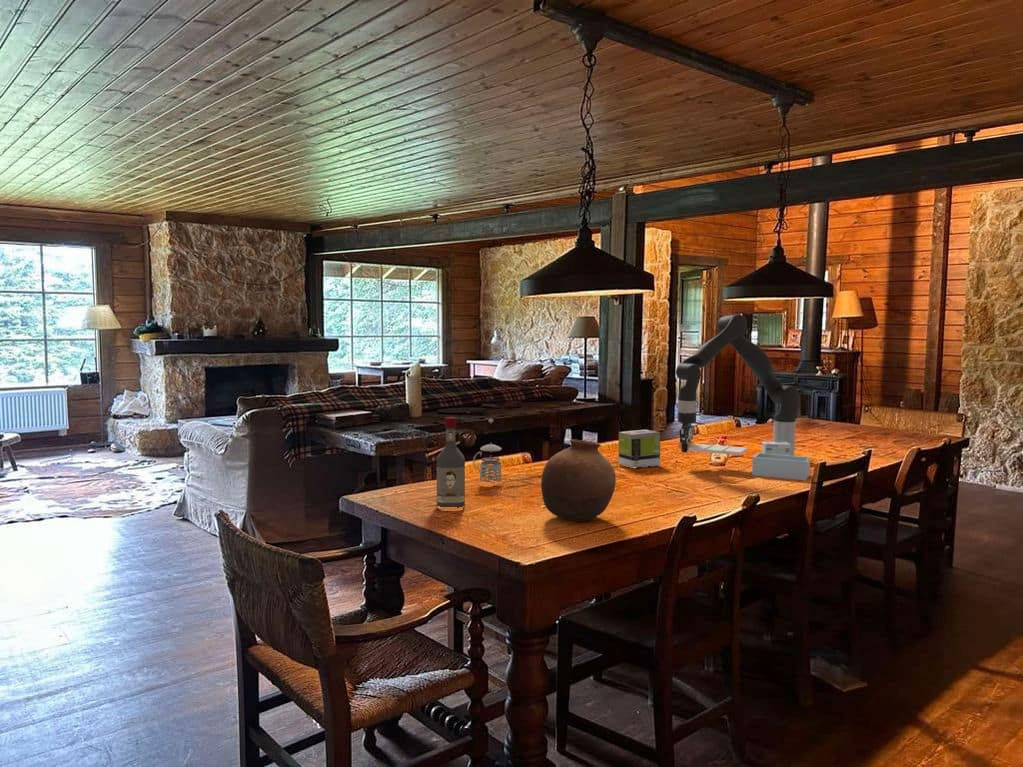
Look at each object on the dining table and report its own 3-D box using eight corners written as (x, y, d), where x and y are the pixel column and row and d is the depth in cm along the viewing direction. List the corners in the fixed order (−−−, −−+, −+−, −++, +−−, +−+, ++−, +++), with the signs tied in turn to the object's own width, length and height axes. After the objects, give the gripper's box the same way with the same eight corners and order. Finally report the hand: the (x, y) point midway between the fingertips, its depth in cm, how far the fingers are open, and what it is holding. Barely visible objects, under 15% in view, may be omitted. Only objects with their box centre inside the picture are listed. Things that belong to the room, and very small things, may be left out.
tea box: (646, 462, 326) (647, 428, 325) (660, 466, 317) (661, 432, 316) (617, 465, 319) (618, 430, 318) (631, 469, 310) (631, 434, 309)
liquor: (437, 505, 249) (436, 416, 247) (464, 504, 250) (464, 415, 247) (436, 511, 240) (436, 419, 237) (464, 511, 241) (464, 419, 238)
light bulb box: (786, 466, 318) (787, 441, 317) (790, 469, 311) (791, 444, 310) (760, 465, 319) (761, 440, 318) (764, 468, 312) (765, 443, 311)
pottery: (530, 524, 226) (530, 442, 224) (556, 506, 247) (557, 432, 245) (602, 532, 217) (603, 448, 215) (623, 514, 238) (624, 436, 236)
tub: (757, 472, 305) (757, 452, 304) (809, 477, 295) (810, 457, 295) (752, 477, 295) (752, 457, 294) (806, 482, 286) (806, 461, 285)
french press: (500, 488, 275) (500, 420, 273) (470, 486, 277) (470, 419, 275) (506, 482, 284) (506, 417, 282) (476, 481, 287) (476, 416, 284)
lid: (684, 445, 319) (684, 439, 319) (746, 450, 307) (746, 444, 306) (676, 449, 308) (676, 443, 308) (740, 455, 296) (740, 449, 296)
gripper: (682, 408, 319) (681, 448, 321) (673, 412, 307) (672, 453, 308) (700, 409, 316) (699, 449, 317) (691, 413, 303) (690, 454, 305)
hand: (686, 451), depth 313 cm, fingers closed on lid, 4 cm apart
